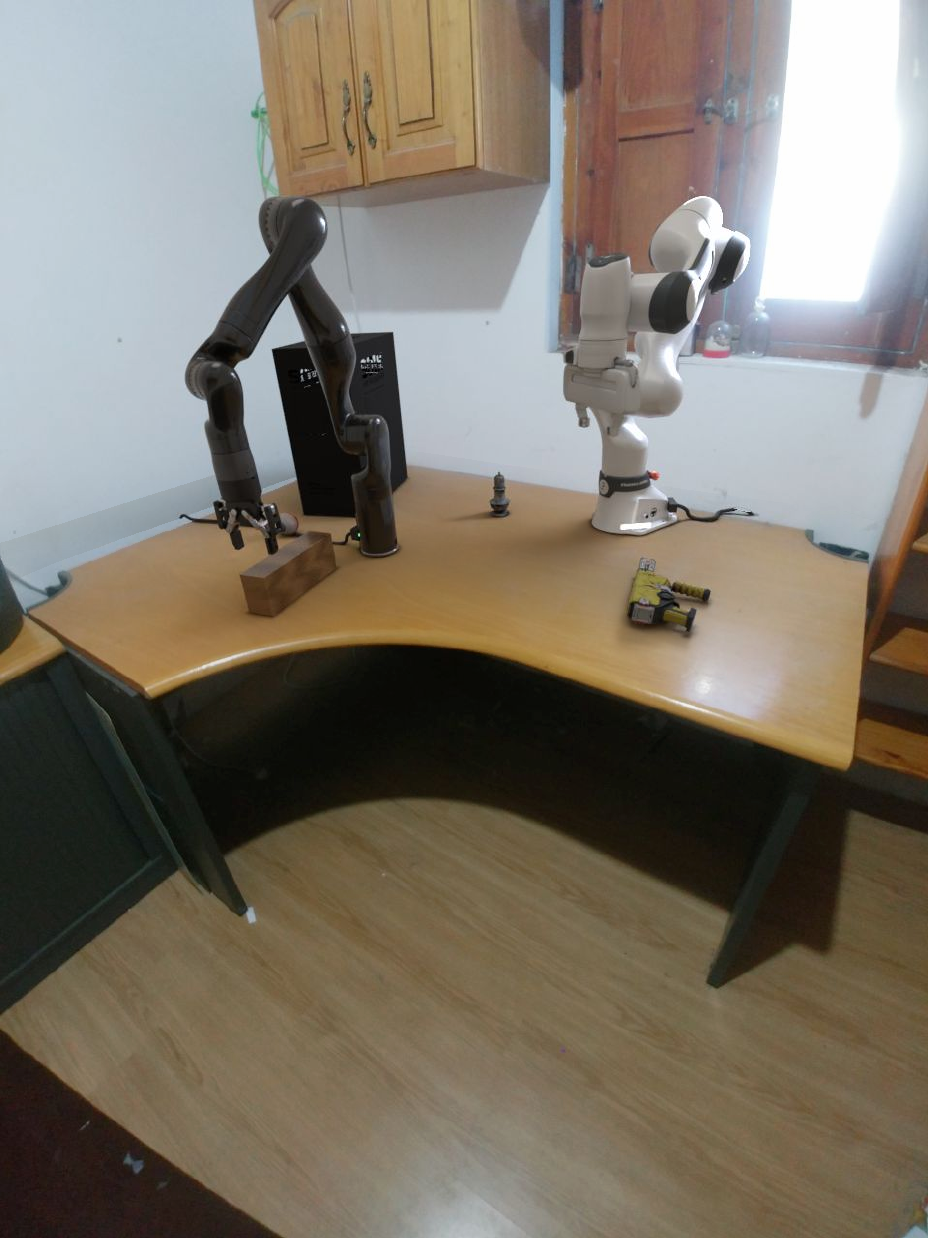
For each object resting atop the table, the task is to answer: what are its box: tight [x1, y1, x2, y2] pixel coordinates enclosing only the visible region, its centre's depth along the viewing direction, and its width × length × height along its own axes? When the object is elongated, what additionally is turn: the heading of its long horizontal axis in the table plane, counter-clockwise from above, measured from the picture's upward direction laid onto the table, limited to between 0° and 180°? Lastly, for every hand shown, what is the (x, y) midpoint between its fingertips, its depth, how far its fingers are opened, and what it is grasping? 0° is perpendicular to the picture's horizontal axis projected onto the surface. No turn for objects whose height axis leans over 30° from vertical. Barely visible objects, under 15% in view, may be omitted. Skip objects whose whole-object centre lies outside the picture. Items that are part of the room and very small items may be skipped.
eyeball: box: [279, 511, 300, 536], centre depth 163 cm, size 6×6×6 cm
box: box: [238, 530, 338, 618], centre depth 134 cm, size 25×6×9 cm, turn 158°
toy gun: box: [626, 557, 712, 633], centre depth 120 cm, size 5×24×15 cm
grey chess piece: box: [488, 471, 511, 517], centre depth 168 cm, size 6×6×12 cm
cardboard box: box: [271, 331, 409, 517], centre depth 180 cm, size 38×20×45 cm, turn 167°
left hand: (256, 550), depth 122 cm, fingers open, 8 cm apart
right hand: (597, 431), depth 119 cm, fingers open, 8 cm apart
